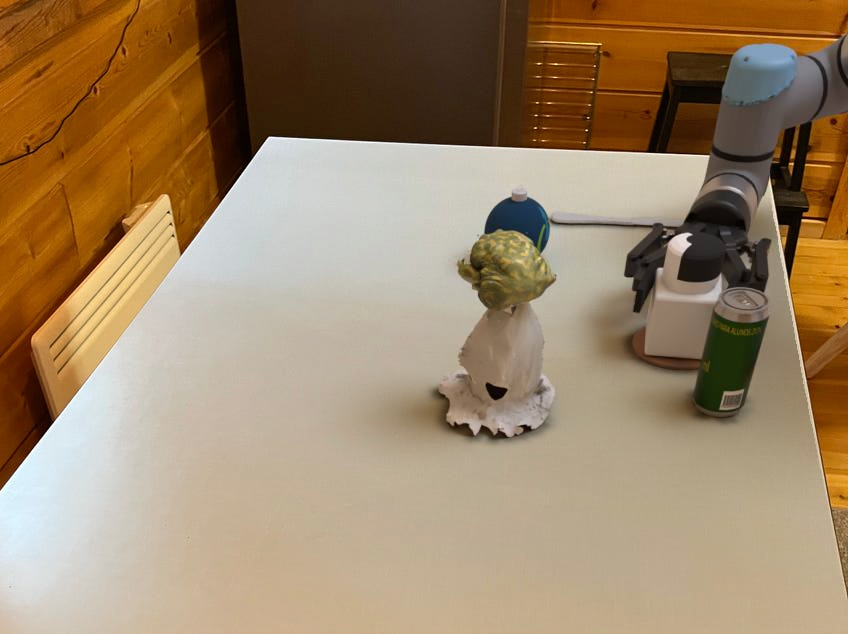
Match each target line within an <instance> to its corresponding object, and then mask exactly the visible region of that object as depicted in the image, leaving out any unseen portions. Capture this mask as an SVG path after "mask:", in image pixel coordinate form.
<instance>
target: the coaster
mask: <svg viewBox="0 0 848 634" xmlns="http://www.w3.org/2000/svg"><path fill="white" fill-rule="evenodd" d="M645 333H646V326H643V327H642V328H640V329H639V330H638V331H636V333H635V334H634V335H633V338H632V342H631V347H632V349H633V351H634V353H635V354H636V355H637V356H638V357H639V358H640V359H642V360H643V361H645V362H646V363H649V364H651V365H654V366H656V367H660V368H664V369H668V370H677V371H687V370H696V369H699V367H700V362H701V359H690V358H678V357H665V356H653V355H646V354H645V353H644V349H645Z"/></svg>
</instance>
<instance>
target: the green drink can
mask: <svg viewBox="0 0 848 634" xmlns="http://www.w3.org/2000/svg"><path fill="white" fill-rule="evenodd" d="M771 303H772V301H771V298H770V297H769V296H768V295H767V294H766V293H765V292H764V293H763V292H761V291H758V290H755V289H752V288H745V287H736V288H729V289H727V288H726V289H724V290H722V292H721V293H720V294H719V297H718V300H717V301H716V302H715V304H714V307H713V311H712V315H711V320H710V324H709V328H708V333H707V337H706V341H705V345H704V350H703V354H702V358H701V362H700V367H699V368H698V372H697V376H696V381H695V384H694V387H693V388H694V389H693V393H692V399H693V403H694V406H695V408H696V409H697V410H698V411H699V412H701V413H702V414H704V415H707V416H709V417H716V418H728V417H733V416H734V415H736V414H737V413H739V412H740V411H741V409H742V408H743V407H744V406H745V403H746V400H747V397H748V393H749V389H750V386H751V382H752V379H753V376H754V371H755V368H756V364H757V361H758V357H759V354H760V351H761V347H762V344H763V340H764V335H765V332H766V328H767V325H768V321H769V319H770V314H771V307H770V305H771Z"/></svg>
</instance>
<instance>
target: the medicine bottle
mask: <svg viewBox="0 0 848 634" xmlns="http://www.w3.org/2000/svg"><path fill="white" fill-rule="evenodd" d="M667 245H668V247H667V252H666V257H665V263H664V268H658V269H657V270H656V273H655V279H654V284H653V287H652V289H651V294H650V300H649V305H648V311H647V317H646V322H645V327H646V333H645V349H644V353H645V354H646V355H653V356H665V357H678V358H690V359H701V358H702V354H703V350H704V345H705V341H706V337H707V333H708V328H709V324H710V320H711V315H712V311H713V307H714V304H715V302H716V301H717V300H718V297H719V294H720V293H721V292H722V291H723V279H722V278H723V277H722V276H723V275H722V272H721V270H722V265H723V261H724V257H725V253H726V246H725V244H724V242H723V241H722V240H721V239H719V238H717V237H715V236H713V235H711V234H707V233H702V232H689V233H683V234H680V235H677V236H675V237H674V238H673V239H671V240H670V241H669V242H668V243H667Z"/></svg>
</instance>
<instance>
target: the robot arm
mask: <svg viewBox="0 0 848 634" xmlns="http://www.w3.org/2000/svg"><path fill="white" fill-rule="evenodd" d="M846 113H848V32H847V33H846V34H844V35H842V36H841V37H840V38H838V39H837V40H835V41H833V42H831V44H829V45H827V46H825V47H824V48H822V49H820V50H816V51H813V52H810V53H806V54H802V55H799V56H798V54H797V52H796V51H795V50H793V48H790V47H788V46H785V45H782V44H776V43H768V42H767V43H766V42H765V43H761V44H757V43H754V44H748V45H745V46H743V47H741V48H739V49H737V50H736V51H735V52H734V54H733V55H732V57H731V58H730V62H729V67H728V70H727V73H726V77H725V81H724V84H723V85H722V89H721V99H720V105H719V110H718V115H717V119H716V123H715V124H716V125H715V130H714V135H713V140H712V144H711V148H710V151H709V156H708V160H707V161H708V162H707V167H706V171H705V176H704V180H703V183H702V185H701V187H700V190H699V191H698V193H697V195H696V197H695V199H694V201H693V203H692V205H691V207H690V209H689V211H688V213H687V214H686V217H685V218H684V219H683V220H684V222H683V225H681V226H679V227H675V229H674V230H672V229H668V228H666V227H664V226H663V224H662V223H654V224H653V225H652V227H651V231H650V232H649V233H648V234H647V235H646V236H644V237H643V239H641V241H639V242H638V243H637V244H636V245H635V246H634V247H633V248H632V249H631V250H630V251H629V252H628V253H627V254H626V259H625V265H624V270H623V271H624V272H623V276H624V277H625V278H629V279H630V278H631V279H632V284H631V290H632V292H635V297H634V301H633V307H632V313H635V314H640V313H641V311H642V309H643V307H644V305H645V303H646V301H647V299H648V297H649V295H650V293H651V292H652V289H653V284H654V279H655V273H656V270H657V269H658V268H664V263H665V257H666V252H667V247H668V243H669V241H670V240H671V239H673V238H674V237H675V236H677V235H680V234H683V233H689V232H702V233H707V234H711V235H713V236H715V237H717V238H719V239H721V240H722V241H723V242H724V244H725V246H726V253H725V257H724V261H723V265H722V270H721V275H722V276H723V277H724V280H725V281H726V284H727V287H726V289H729V288H736V287H745V288H752V289H755V290H758V291H761V292H763V293H765V291H766V288H767V284H768V280H769V276H770V272H769V258H768V256H769V252H770V249H771V245H772V238H768V237H763V238H761V239H760V240H759V241H757V240H755V241H749V237H748V234H749V231H750V228H751V227H752V224H753V221H754V219H755V216H756V214H757V211H758V208H759V205H760V203H761V201H762V199H763V197H764V196H765V194H766V193H767V190H768V186H769V182H770V178H771V167H772V164H773V158H774V155H775V151H776V147H777V144H778V140H779V136H780V133H781V131H784V130H788V129H790V128H794V127H797V126H801V125H804V124H808V123H811V122H814V121H818V120H822V119H825V118H828V117H832V116H836V115H844V114H846ZM744 254H746V255H747V258H748V263H749V264H750V268H748V267H747V265H746V264H745V262H744V260H743V259H742V257H741V256H743V255H744Z"/></svg>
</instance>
